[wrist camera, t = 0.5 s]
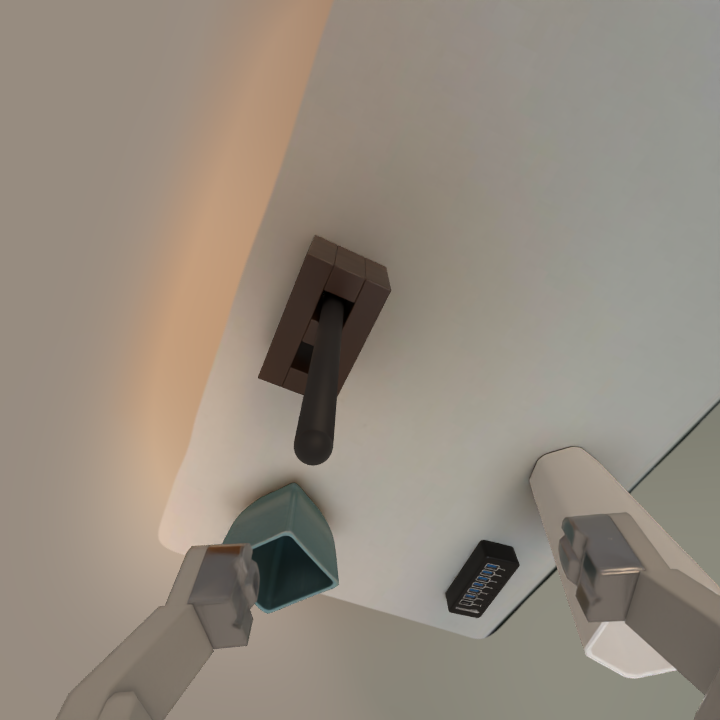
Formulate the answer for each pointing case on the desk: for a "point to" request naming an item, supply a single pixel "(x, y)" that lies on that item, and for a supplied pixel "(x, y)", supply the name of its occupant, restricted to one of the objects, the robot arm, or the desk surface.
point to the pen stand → (302, 313)
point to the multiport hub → (481, 579)
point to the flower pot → (287, 547)
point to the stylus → (321, 387)
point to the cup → (603, 496)
